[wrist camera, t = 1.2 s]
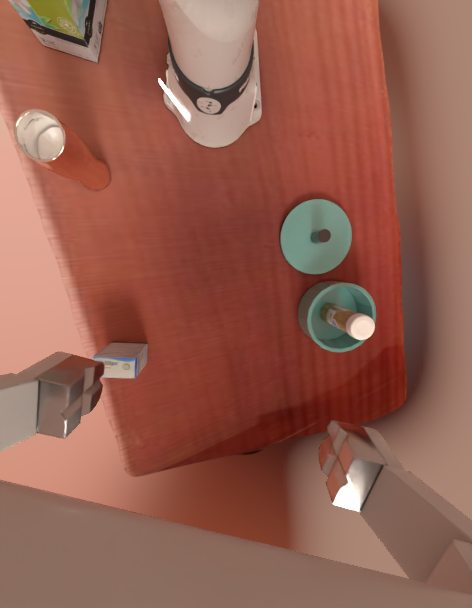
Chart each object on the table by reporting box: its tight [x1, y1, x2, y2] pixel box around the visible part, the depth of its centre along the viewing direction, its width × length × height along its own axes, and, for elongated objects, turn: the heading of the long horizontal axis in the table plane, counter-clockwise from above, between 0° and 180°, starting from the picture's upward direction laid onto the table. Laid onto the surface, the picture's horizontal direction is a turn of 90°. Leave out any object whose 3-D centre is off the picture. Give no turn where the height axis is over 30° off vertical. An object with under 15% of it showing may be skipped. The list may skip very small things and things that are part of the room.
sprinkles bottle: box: [320, 303, 375, 340], centre depth 49 cm, size 5×5×13 cm
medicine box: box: [93, 342, 148, 378], centre depth 50 cm, size 8×4×9 cm, turn 86°
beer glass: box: [14, 109, 110, 191], centre depth 40 cm, size 7×7×15 cm
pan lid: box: [280, 199, 352, 274], centre depth 50 cm, size 16×16×5 cm
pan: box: [298, 280, 376, 352], centre depth 53 cm, size 15×15×6 cm
